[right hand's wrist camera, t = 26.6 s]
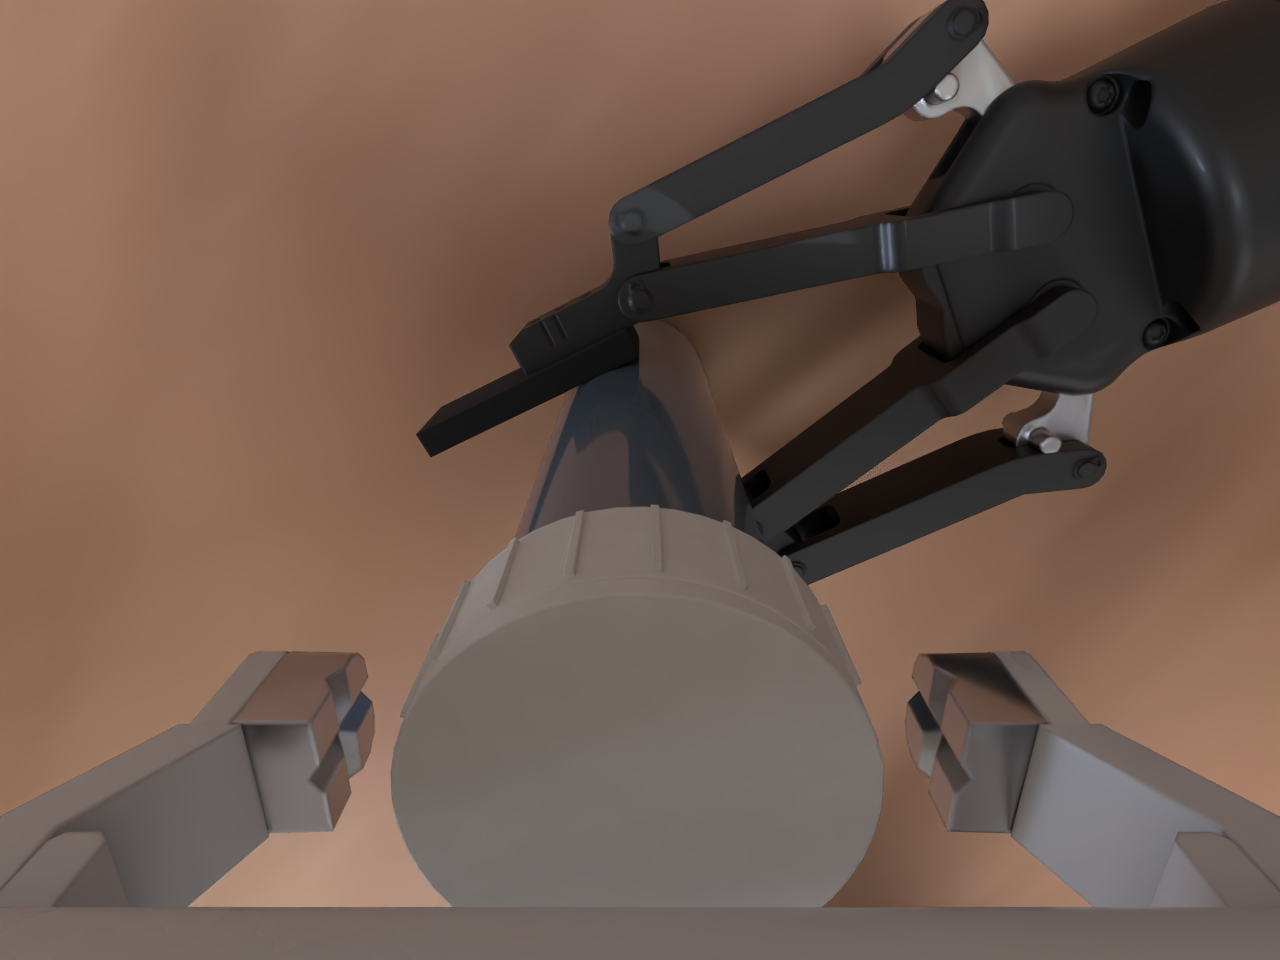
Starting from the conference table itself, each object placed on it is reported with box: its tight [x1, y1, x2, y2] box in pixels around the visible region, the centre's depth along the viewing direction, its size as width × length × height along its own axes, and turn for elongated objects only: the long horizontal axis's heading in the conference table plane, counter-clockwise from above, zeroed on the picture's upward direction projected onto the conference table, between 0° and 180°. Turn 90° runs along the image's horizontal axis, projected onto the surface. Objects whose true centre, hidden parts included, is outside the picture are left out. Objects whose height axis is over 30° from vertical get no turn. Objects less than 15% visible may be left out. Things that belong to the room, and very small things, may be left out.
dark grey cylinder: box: [515, 320, 764, 544], centre depth 19 cm, size 5×5×20 cm
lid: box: [391, 505, 884, 907], centre depth 10 cm, size 6×6×2 cm
